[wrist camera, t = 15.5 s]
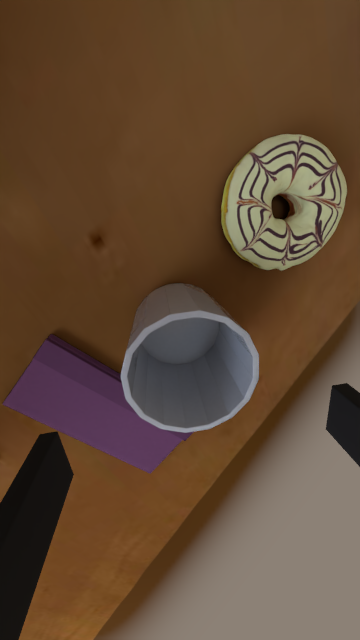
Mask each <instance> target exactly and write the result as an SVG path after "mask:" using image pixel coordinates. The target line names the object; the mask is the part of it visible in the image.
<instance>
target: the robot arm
mask: <svg viewBox="0 0 360 640" xmlns="http://www.w3.org/2000/svg"><path fill="white" fill-rule="evenodd" d="M326 426H327V427H326V430H327V431H328V432H329V433H330V434H331V435H332V436H333V438H334V439H335V440H336V441H337V442H338V443H339V444H340V445H341V446H342V448H343V449H344V450H345V451H346V452H347V453H348V454H349V455H350V456H351V458H352V459H353V460H354V461H355V462H356V463H357V464H358V465H359V466H360V393H359V392H358V391H356V390H355V389H354V388H352V387H351V386H350V385H349V384H347V383H346V384H340V385H333V386H332V390H331V397H330V405H329V412H328V418H327V425H326ZM73 475H74V474H73V472H72V469H71V466H70V464H69V461H68V458H67V456H66V453H65V450H64V448H63V445H62V443H61V440H60V437H59V435H58V432H51V433H45V434H40V435H39V437H38V439H37V440H36V442H35V444H34V446H33V447H32V449H31V451H30V453H29V454H28V456H27V458H26V460H25V461H24V463H23V465H22V467H21V468H20V470H19V472H18V474H17V475H16V477H15V479H14V481H13V482H12V484H11V486H10V488H9V489H8V491H7V493H6V495H5V496H4V498H3V500H2V502H1V503H0V640H18V639H19V636H20V633H21V630H22V627H23V624H24V621H25V618H26V615H27V612H28V609H29V606H30V603H31V600H32V597H33V594H34V591H35V588H36V585H37V582H38V579H39V576H40V573H41V570H42V567H43V564H44V561H45V558H46V555H47V552H48V549H49V546H50V543H51V541H52V538H53V535H54V532H55V529H56V526H57V523H58V520H59V517H60V514H61V511H62V508H63V505H64V502H65V499H66V496H67V493H68V490H69V487H70V484H71V481H72V478H73Z"/></svg>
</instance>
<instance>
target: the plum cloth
mask: <svg viewBox="0 0 360 640" xmlns="http://www.w3.org/2000/svg"><path fill="white" fill-rule="evenodd" d="M33 358H34V359H33V360H32V362H31V363H30V364H29V366H28V367H27V369H26V370H25V372H24V373H23V375H22V376H21V378H20V379H19V380H18V382H17V383H16V385H15V386H14V388H13V389H12V391H11V392H10V394H9V395H8V396H7V398H6V399H5V401H4V402H3V405H5V406H7V407H9V408H11V409H13V410H15V411H18V412H20V413H22V414H24V415H26V416H28V417H30V418H33V419H35V420H37V421H39V422H41V423H43V424H45V425H48V426H50V427H52V428H54V429H56V430H58V431H60V432H62V433H65V434H67V435H69V436H71V437H73V438H75V439H77V440H80V441H82V442H84V443H86V444H88V445H90V446H92V447H95V448H97V449H99V450H101V451H103V452H105V453H107V454H110V455H112V456H114V457H116V458H118V459H120V460H122V461H124V462H127V463H129V464H131V465H133V466H135V467H137V468H139V469H142V470H144V471H146V472H148V473H151V472H152V471H153V470H154V469H155V468H156V467H157V466H158V465H159V464H160V463H161V462H162V461H163V460H164V459H165V458H166V457H167V455H168V454H169V453H170V452H171V451H172V450H173V449H174V448H175V447H176V446H177V445H178V444H179V443H180V442H181V441H182V440H184V441H185V440H186V439H187V438H188V437H189V436H190V435H191V434H192V433H193V432H188V433H186V432H185V433H183V432H177V431H170V430H163V429H160V428H158V427H156V426H155V425H153V424H151V423H149V422H147V421H145V420H143V419H142V418H141V417H139V415H138V414H137V413H136V412H135V410H134V409H133V408H132V407H131V405H130V404H129V403H128V402H127V400H126V399H125V394H124V390H123V386H122V381H121V377H120V375H121V374H119V373H117V372H116V371H114V370H112V369H110V368H109V367H107V366H105V365H104V364H102V363H100V362H99V361H97V360H95V359H94V358H92V357H90V356H88V355H87V354H85V353H83V352H82V351H80V350H78V349H77V348H75V347H73V346H71V345H70V344H68V343H66V342H65V341H63V340H61V339H60V338H58V337H56V336H54V335H53V334H51V335H50V336H49V337H48V338H47V339H46V340H45V341H44V343H43V344H42V346H41V347H40V349H39V350H38V352H37V353H36V354H35V356H34V357H33Z"/></svg>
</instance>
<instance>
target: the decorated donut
mask: <svg viewBox="0 0 360 640" xmlns="http://www.w3.org/2000/svg"><path fill="white" fill-rule="evenodd" d="M277 195H280V196H282V197H284V198H285V199H286V200H287V201H288V202H289V206H290V207H289V208H290V211H289V213H288V216H287V217H286V219H284V220H282V219H276V218H274V217H273V214H272V207H271V202H272V199H273V197H274V196H277ZM346 195H347V186H346V181H345V177H344V175H343V173H342V171H341V169H340V167H339V165H338V163H337V161H336V160H335V158H334V156H333V155H332V153H331V152H330V151H329V150H328V148H327V147H326V146H324V145H323V144H321V143H320V142H318V141H316V140H315V139H313V138H311V137H308V136H304V135H291V134H282V135H278V136H275V137H271V138H268V139H266V140H264V141H262V142H261V143H259V144H258V145H257V146H255V147H254V148H253V149H251V150H250V151H249V152H248V153H247V154H246V155H245V156H244V157H243V158H242V159H241V160H240V161H239V162H238V164H237V165H236V166H235V167H234V169H233V171H232V172H231V174H230V175H229V177H228V179H227V181H226V184H225V188H224V193H223V201H222V206H221V212H222V214H221V215H222V218H221V224H222V227H223V231H224V234H225V237H226V238H227V240H228V241H229V243H230V244H231V246H232V249H233V250H234V251H235V252H236V254H237V255H238V256H239V257H240V258H242V259H243V260H246V261H248V262H250V263H252V264H253V265H254V266H256V267H258V268H261V269H265V270H271V269H279V270H285V269H287V268H289V267H291V266H294V265H298V264H301V263H303V262H305V261H307V260H308V259H310V258H311V257H312V256H314V255H315V254H316V253H317V252H318V251H319V250H320V249H321V248H322V247H323V246H324V245H325V244H326V242H327V241H328V240H329V239H330V237H331V236H332V234H333V233H334V231H335V229H336V227H337V225H338V223H339V220H340V218H341V216H342V213H343V210H344V206H345V198H346Z"/></svg>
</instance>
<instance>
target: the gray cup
mask: <svg viewBox="0 0 360 640" xmlns="http://www.w3.org/2000/svg"><path fill="white" fill-rule="evenodd" d="M120 377H121V381H122V386H123V390H124V394H125V399H126V400H127V402H128V403H129V404H130V405H131V407H132V408H133V409H134V410H135V412H136V413H137V414H138V415H139V417H141V418H142V419H143V420H145V421H147V422H149V423H151V424H153V425H155V426H156V427H158V428H160V429H163V430H170V431H177V432H183V433H185V432H186V433H188V432H194V431H200V430H206V429H210V428H213V427H215V426H217V425H218V424H220V423H222V422H224V421H226V420H228V419H230V418H232V417H233V416H234V415H235V414H236V413H237V412H238V411H239V410H240V409H241V408H242V407H243V406H244V405H245V404H246V403H247V402H248V401H249V400H250V397H251V395H252V393H253V391H254V388H255V386H256V384H257V382H258V379H259V354H258V352H257V350H256V348H255V346H254V344H253V342H252V340H251V338H250V335H249V334H248V332H247V331H246V330H245V329H244V328H243V327H242V326H241V325H240V324H239V323H238V322H237V321H236V320H235V319H234V318H233V317H232V316H231V315H230V314H229V313H228V312H227V311H226V310H225V309H224V308H223V307H222V306H221V305H220V304H219V303H218V302H217V301H216V300H215V299H214V298H213V297H211V296H210V295H209V294H208V293H207V292H205V291H204V290H203V289H201V288H199V287H197V286H194V285H191V284H186V283H173V284H168V285H165V286H162V287H160V288H158V289H156V290H154V291H153V292H151V293H150V294H149V295H148V296H147V297H146V298H145V299H144V300H143V301H142V303H141V304H140V306H139V307H138V309H137V311H136V315H135V319H134V323H133V327H132V331H131V334H130V338H129V342H128V346H127V350H126V354H125V358H124V362H123V366H122V371H121V375H120Z"/></svg>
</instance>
